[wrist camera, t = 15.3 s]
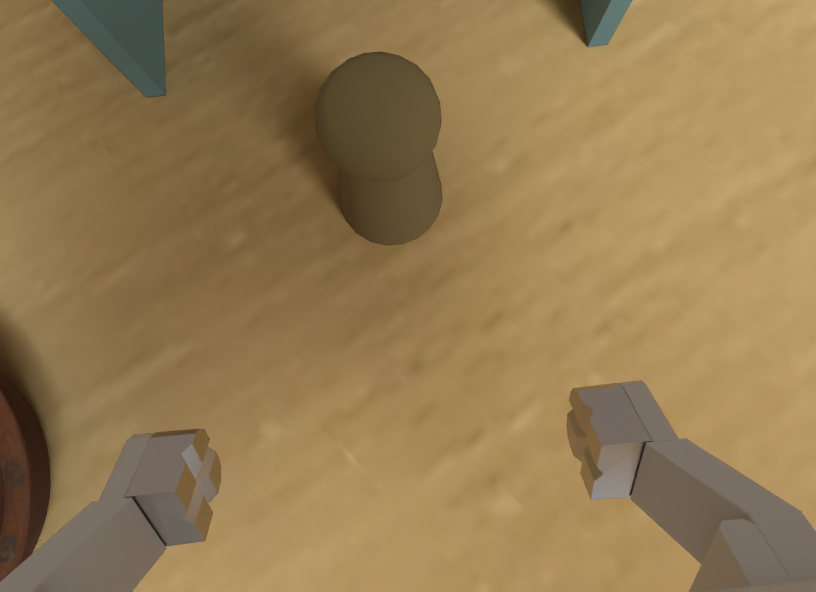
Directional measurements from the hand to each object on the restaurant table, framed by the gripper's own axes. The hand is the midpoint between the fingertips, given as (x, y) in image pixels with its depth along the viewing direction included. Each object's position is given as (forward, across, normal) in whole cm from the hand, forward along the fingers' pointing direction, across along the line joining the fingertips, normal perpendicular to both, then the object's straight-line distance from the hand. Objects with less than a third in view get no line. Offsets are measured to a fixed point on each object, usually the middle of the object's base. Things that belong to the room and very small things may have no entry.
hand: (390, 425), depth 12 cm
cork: (+21, 0, +4) cm, 21 cm away
